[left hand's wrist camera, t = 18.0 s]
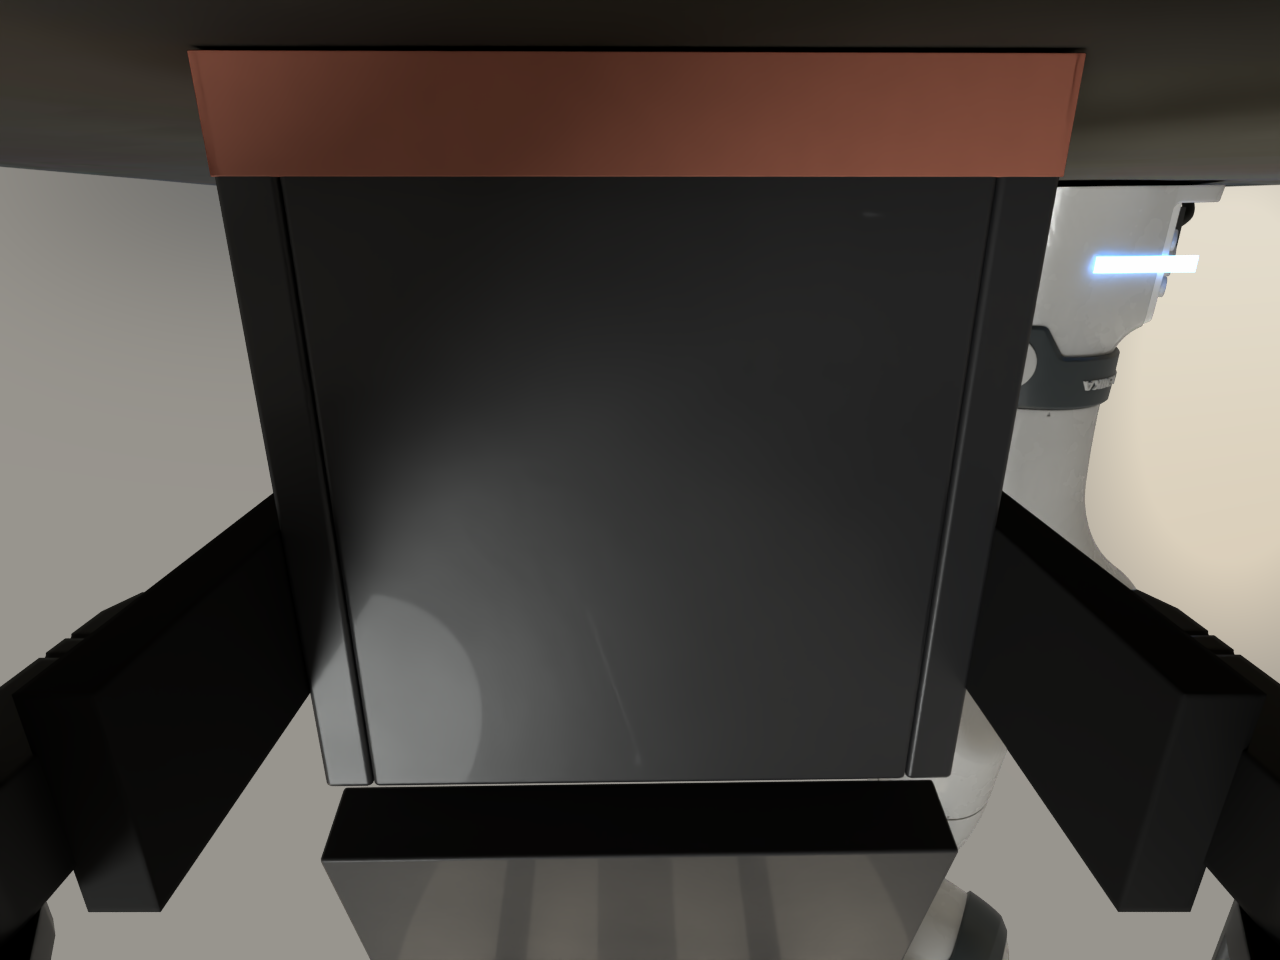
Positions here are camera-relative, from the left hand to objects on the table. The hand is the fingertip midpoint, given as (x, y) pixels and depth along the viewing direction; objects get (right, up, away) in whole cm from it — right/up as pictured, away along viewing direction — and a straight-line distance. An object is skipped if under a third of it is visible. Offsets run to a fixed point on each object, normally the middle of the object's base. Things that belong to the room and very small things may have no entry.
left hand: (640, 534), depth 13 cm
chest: (0, +8, 0) cm, 8 cm away
